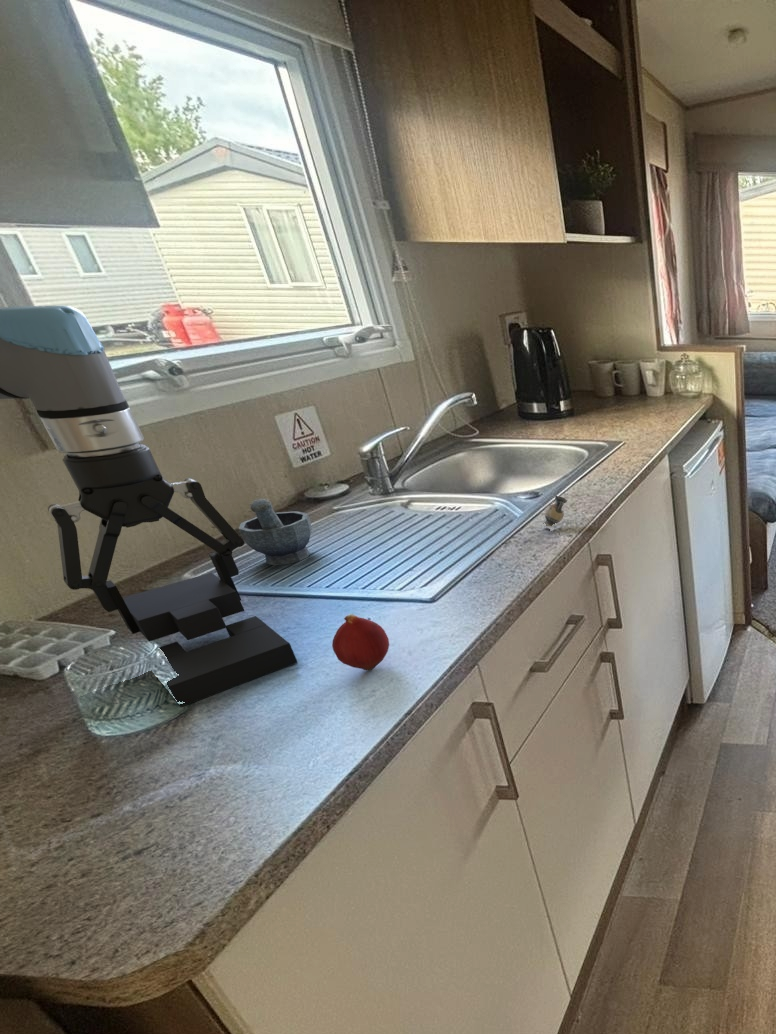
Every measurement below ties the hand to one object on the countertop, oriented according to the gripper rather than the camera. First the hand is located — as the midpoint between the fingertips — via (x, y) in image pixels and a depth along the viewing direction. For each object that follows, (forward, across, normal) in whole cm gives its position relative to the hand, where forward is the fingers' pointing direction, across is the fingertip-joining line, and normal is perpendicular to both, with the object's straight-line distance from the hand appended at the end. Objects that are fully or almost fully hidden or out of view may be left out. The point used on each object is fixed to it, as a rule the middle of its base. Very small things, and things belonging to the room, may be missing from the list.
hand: (186, 613), depth 88 cm
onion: (+5, +11, -26) cm, 28 cm away
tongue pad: (0, 0, -2) cm, 2 cm away
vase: (+5, +56, -2) cm, 56 cm away
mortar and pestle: (+4, +18, +22) cm, 29 cm away
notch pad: (+4, 0, -11) cm, 12 cm away
